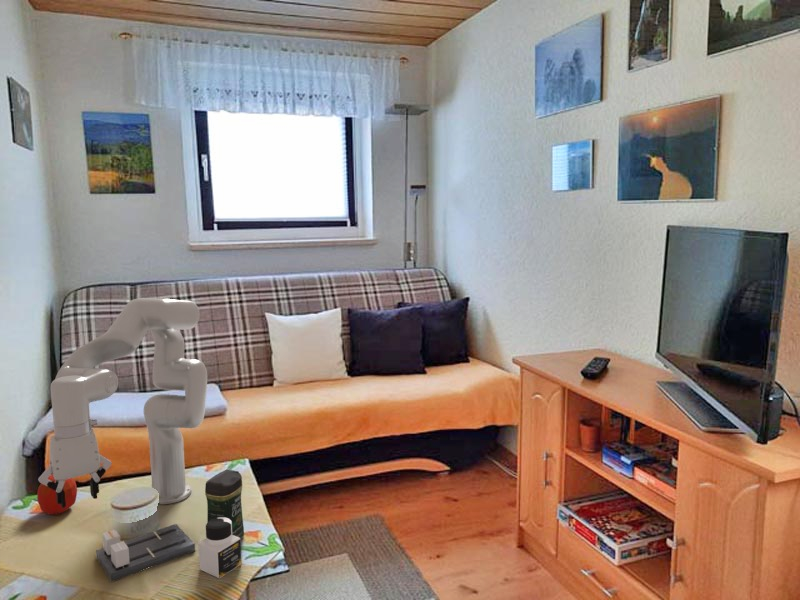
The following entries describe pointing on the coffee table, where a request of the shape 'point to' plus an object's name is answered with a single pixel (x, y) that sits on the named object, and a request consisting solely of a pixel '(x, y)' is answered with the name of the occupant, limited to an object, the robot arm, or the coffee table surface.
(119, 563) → the fader
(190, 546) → the console
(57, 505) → the apple
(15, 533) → the coffee table surface
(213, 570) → the medicine bottle
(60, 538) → the coffee table surface
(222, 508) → the coffee jar
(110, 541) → the fader
